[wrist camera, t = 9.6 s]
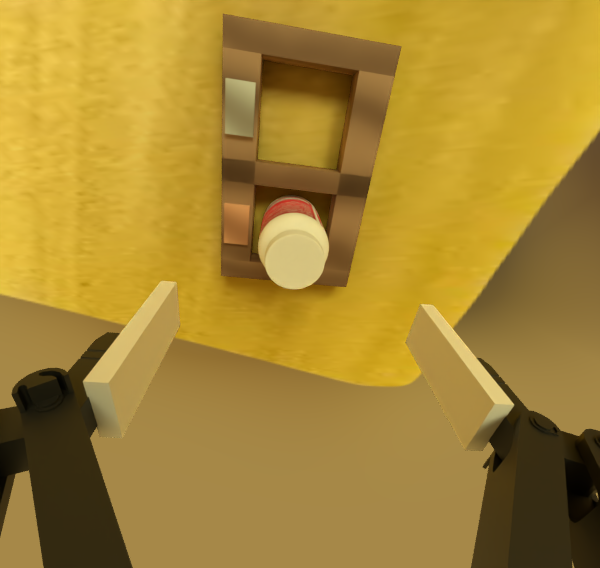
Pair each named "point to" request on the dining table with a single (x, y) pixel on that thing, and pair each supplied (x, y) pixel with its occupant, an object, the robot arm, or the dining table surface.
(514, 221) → the dining table surface
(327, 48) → the socket board
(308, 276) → the pill bottle
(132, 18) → the dining table surface
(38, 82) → the dining table surface
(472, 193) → the dining table surface
